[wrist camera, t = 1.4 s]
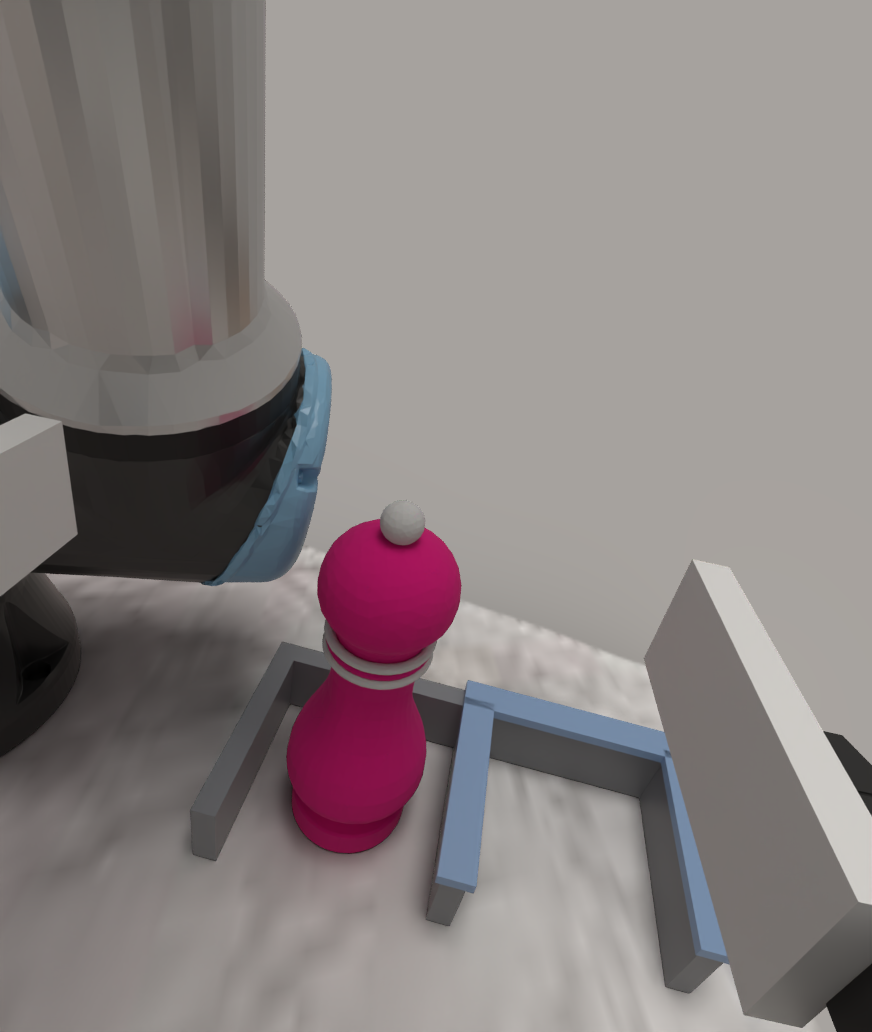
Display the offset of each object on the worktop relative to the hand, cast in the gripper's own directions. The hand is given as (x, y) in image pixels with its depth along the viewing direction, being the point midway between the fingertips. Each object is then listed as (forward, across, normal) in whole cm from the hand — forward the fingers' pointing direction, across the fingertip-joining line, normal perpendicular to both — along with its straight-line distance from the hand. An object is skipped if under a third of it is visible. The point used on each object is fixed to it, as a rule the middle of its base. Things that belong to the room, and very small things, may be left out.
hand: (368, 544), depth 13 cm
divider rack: (+10, +6, -24) cm, 27 cm away
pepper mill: (+10, 0, -24) cm, 26 cm away
